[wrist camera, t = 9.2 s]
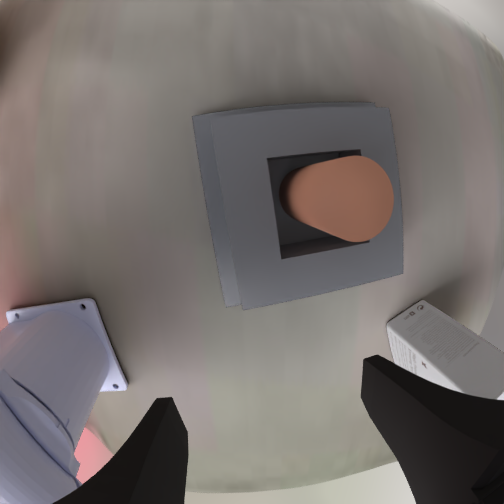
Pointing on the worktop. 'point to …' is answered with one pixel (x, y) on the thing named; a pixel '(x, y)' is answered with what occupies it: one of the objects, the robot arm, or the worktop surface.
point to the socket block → (269, 207)
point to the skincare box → (446, 352)
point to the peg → (340, 197)
